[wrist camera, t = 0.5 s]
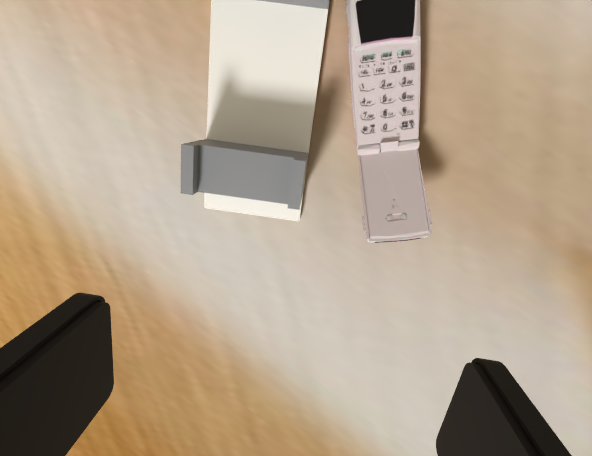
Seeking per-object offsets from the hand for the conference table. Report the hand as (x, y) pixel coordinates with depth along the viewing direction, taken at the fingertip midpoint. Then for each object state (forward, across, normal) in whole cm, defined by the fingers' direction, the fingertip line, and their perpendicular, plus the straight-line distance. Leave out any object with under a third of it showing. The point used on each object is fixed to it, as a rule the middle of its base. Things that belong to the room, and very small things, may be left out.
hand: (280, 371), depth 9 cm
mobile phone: (+27, -5, -9) cm, 29 cm away
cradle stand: (+26, +6, -9) cm, 29 cm away
